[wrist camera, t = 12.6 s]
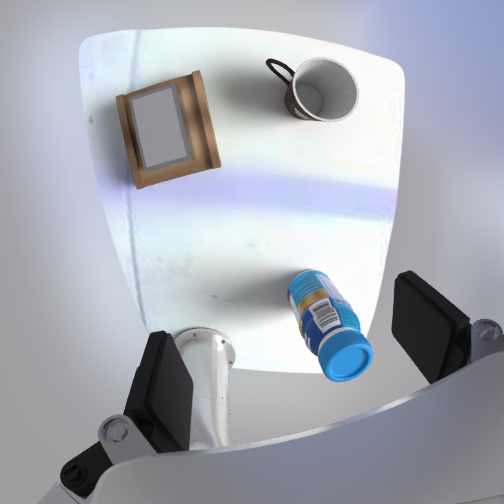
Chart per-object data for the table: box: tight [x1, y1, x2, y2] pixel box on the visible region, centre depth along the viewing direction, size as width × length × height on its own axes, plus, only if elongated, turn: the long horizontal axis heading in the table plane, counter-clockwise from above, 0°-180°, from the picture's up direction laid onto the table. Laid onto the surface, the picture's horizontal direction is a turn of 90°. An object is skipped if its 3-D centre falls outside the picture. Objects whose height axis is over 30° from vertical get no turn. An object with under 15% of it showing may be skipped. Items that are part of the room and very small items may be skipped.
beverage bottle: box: [287, 270, 373, 382], centre depth 40 cm, size 8×8×20 cm
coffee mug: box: [266, 57, 359, 122], centre depth 33 cm, size 12×9×10 cm
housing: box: [129, 83, 196, 173], centre depth 32 cm, size 6×10×5 cm, turn 12°
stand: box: [116, 70, 221, 190], centre depth 36 cm, size 14×12×5 cm
